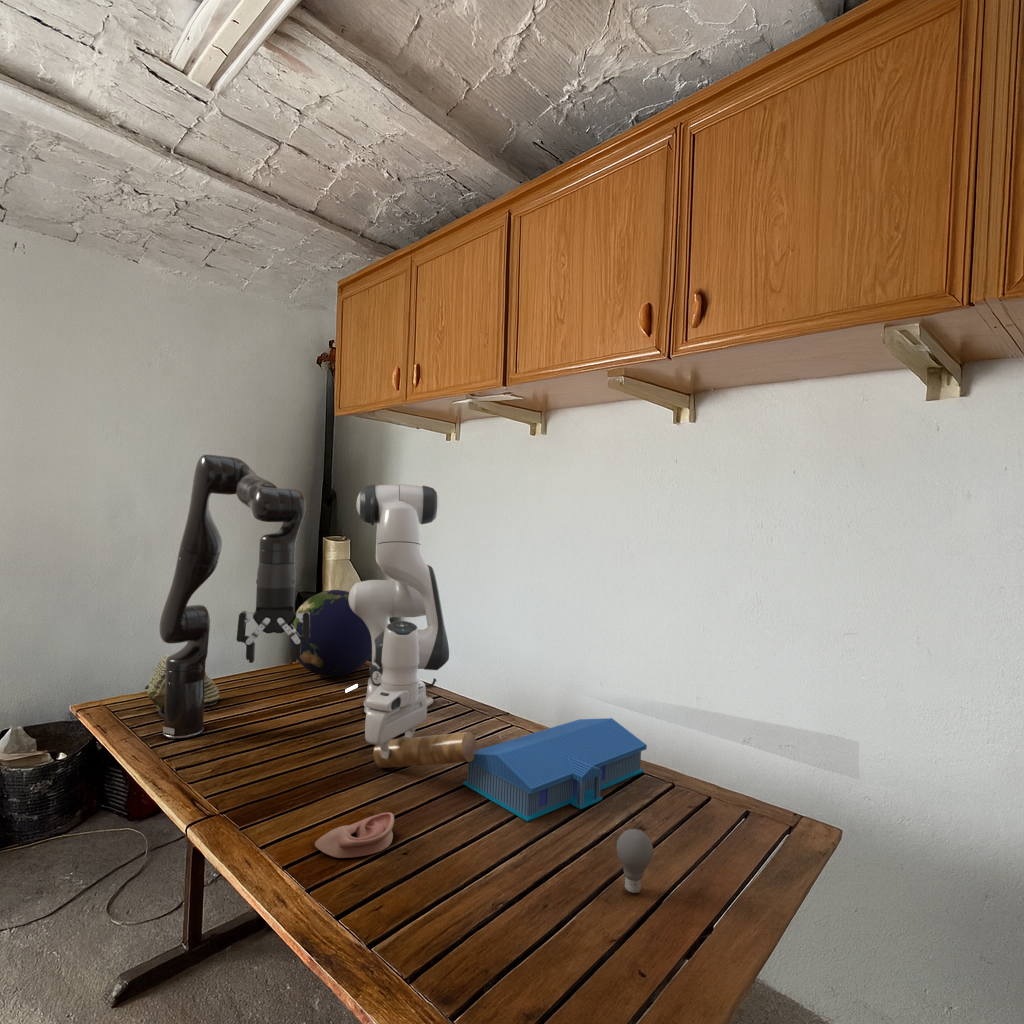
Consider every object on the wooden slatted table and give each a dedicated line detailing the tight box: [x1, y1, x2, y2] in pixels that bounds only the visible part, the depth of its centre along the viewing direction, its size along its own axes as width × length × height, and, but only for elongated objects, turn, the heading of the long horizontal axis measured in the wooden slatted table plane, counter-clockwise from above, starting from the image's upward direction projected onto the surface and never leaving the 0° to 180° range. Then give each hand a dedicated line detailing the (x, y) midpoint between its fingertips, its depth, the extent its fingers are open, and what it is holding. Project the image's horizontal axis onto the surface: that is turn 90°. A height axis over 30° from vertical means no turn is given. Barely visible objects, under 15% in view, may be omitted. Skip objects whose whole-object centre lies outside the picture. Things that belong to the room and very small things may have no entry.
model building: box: [462, 717, 648, 822], centre depth 147 cm, size 39×24×10 cm, turn 132°
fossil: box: [147, 654, 221, 711], centre depth 185 cm, size 9×18×15 cm, turn 132°
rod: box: [372, 731, 478, 769], centre depth 145 cm, size 25×6×6 cm, turn 63°
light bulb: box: [615, 828, 654, 894], centre depth 106 cm, size 6×6×10 cm
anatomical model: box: [314, 812, 395, 859], centre depth 117 cm, size 13×4×12 cm
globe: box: [289, 589, 372, 678], centre depth 222 cm, size 30×30×30 cm
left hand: (273, 661), depth 132 cm, fingers open, 8 cm apart
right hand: (396, 751), depth 148 cm, fingers open, 7 cm apart
